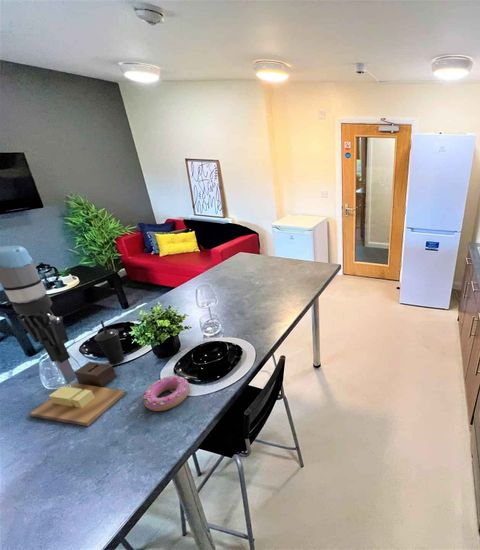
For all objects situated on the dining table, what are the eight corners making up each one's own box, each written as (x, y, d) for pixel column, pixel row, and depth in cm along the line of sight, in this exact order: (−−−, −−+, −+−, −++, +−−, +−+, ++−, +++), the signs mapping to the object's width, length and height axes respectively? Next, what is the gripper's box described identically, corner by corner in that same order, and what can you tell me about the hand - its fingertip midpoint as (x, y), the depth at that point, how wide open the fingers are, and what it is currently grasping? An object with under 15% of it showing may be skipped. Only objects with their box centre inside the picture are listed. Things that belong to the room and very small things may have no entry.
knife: (64, 383, 98) (42, 340, 91) (73, 377, 101) (52, 335, 94) (70, 384, 98) (48, 341, 91) (79, 378, 101) (58, 336, 93)
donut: (170, 379, 116) (167, 370, 114) (199, 388, 112) (196, 378, 110) (135, 407, 103) (130, 397, 101) (166, 418, 100) (163, 408, 98)
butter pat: (75, 407, 101) (71, 399, 99) (88, 396, 105) (85, 389, 103) (81, 408, 101) (78, 400, 99) (94, 397, 105) (91, 390, 103)
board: (31, 416, 98) (29, 413, 98) (74, 385, 111) (72, 382, 111) (87, 426, 96) (86, 422, 95) (125, 393, 109) (124, 390, 108)
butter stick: (52, 403, 102) (48, 395, 100) (66, 393, 106) (62, 385, 104) (72, 406, 101) (68, 399, 99) (85, 396, 105) (82, 389, 104)
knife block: (79, 384, 112) (73, 372, 109) (94, 373, 117) (89, 361, 115) (102, 387, 111) (96, 375, 108) (116, 376, 116) (111, 364, 114)
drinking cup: (128, 352, 129) (114, 314, 121) (127, 362, 124) (113, 323, 115) (106, 358, 125) (90, 319, 117) (104, 369, 120) (87, 329, 111)
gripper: (65, 294, 89) (92, 354, 98) (22, 289, 90) (53, 349, 100) (37, 306, 82) (69, 370, 91) (-9, 301, 83) (27, 364, 93)
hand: (61, 359), depth 96 cm, fingers closed on knife, 2 cm apart
